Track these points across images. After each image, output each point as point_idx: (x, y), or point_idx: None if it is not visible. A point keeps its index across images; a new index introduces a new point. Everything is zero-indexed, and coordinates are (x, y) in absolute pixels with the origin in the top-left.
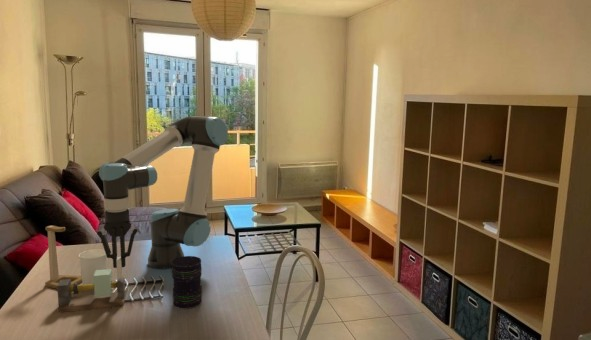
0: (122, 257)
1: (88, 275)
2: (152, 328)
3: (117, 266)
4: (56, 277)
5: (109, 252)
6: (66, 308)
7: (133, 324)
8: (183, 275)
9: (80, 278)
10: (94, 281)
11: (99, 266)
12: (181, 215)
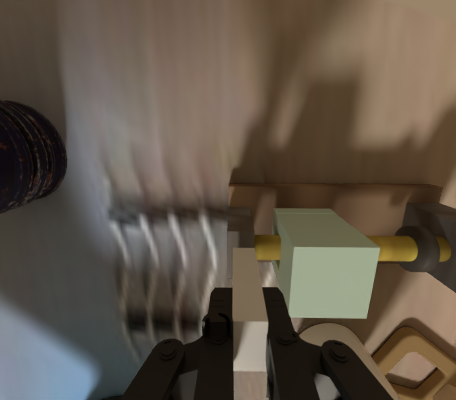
0: (219, 329)
1: (362, 361)
2: None
3: (256, 285)
4: (442, 397)
5: (348, 392)
6: (410, 187)
7: (181, 21)
8: None
9: None
10: (360, 233)
11: None
12: None
